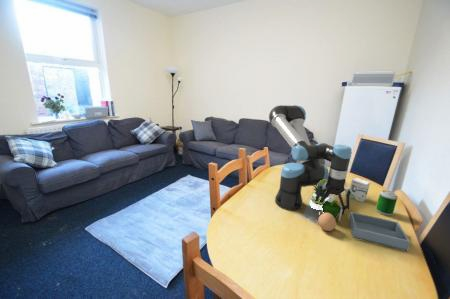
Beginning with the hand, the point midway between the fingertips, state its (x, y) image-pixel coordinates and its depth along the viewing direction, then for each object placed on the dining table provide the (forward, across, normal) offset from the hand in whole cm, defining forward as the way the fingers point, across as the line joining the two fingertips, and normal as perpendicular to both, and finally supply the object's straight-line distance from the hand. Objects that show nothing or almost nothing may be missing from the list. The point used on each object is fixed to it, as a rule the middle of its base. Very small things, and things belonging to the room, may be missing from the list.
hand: (329, 217), depth 107 cm
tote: (0, +19, -5) cm, 20 cm away
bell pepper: (+1, 0, 0) cm, 1 cm away
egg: (+1, -2, -11) cm, 11 cm away
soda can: (+1, +28, +18) cm, 34 cm away
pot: (+1, -12, +56) cm, 58 cm away
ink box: (+1, +17, +30) cm, 35 cm away
